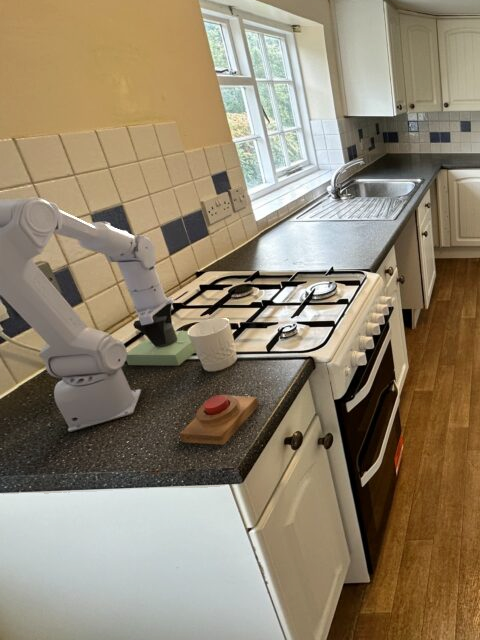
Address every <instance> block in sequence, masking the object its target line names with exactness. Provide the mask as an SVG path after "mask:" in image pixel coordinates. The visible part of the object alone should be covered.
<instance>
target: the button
mask: <svg viewBox="0 0 480 640" xmlns="http://www.w3.org/2000/svg"><path fill="white" fill-rule="evenodd" d="M225 395H226V394H219V395H215V396H212V397H210V398H208V399H207V400H206V401H205V402H204V403H205V404H204V403H203V404H204V408H205V410H206V413H207V414H208V415H215V414H218V413H220V412H222V411H224V410H226V409H227V408H228V407H229V403H228V400H227V397H226V396H225Z"/></svg>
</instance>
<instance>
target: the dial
mask: <svg viewBox="0 0 480 640" xmlns="http://www.w3.org/2000/svg"><path fill="white" fill-rule="evenodd" d="M175 331H176V330H175V328H174V326H173V323H172V324H170V323H165V332H166V338H167V343H166V344H164V345H159V346H155V347H165V346H168V345H171V344H173V343H175V342H176V341H177V336H176V333H175Z"/></svg>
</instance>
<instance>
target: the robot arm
mask: <svg viewBox="0 0 480 640" xmlns="http://www.w3.org/2000/svg"><path fill="white" fill-rule="evenodd" d="M53 234H56V235H59V236H63V237H66V238H69V239H74V240H77V242H78V244H79V246H80V247H82V248H83V249H85V250H87V251H88V250H89V251H91V252H95V253H97V254H100V255H104V256H105V258H106V259H107V261H109V262H110V263H117V266H118V269H119V271H120V274H121V276H122V278H123V281H124V284H125V286H126V288H127V291H128V294H129V296H130V298H131V301H132V303H133V309H134V312H135V313H136V315H138V320H135V321H134V322H133V328H134V329H135V330H137V331H139V332H141V333H142V334H143V335H145V336H146V338H148V339H149V340H150V341H151V342H152V343H153V344H154V345H155V346H159V345H164V344H166V343H167V338H166V332H165V323H170V324H172V325H173V320H172V319H173V318H172V306H173V303H174V298H173V297H167V296H166V294H165V291H164V289H163V285H162V282H161V281H160V280H161V279H160V277H159V274H158V271H157V269H156V266H155V265H156V263H157V262H156V261H157V260H156V257H155V252H156V246H155V243H154V242H153V241H152V240H151V239H150V238H149V237H147V236H145V235H141V234H139V235H137V234H136V235H134V234H132V233H131V234H130V233H129V232H128V230H125V229H118V228H116V227H114V226H112V225H111V223H110V222H108V221H95V222H90V223H88V222H86V221H85V220H82V219H80V218H78V217H76V216H74V215H72V214H69V213H67V212H65V211H63V210H60V208H59V206H58V205H57V203H55V202H51V201H47V200H45V199H44V198H41V197H36V196H35V197H33V196H32V197H25V198H6V199H5V198H3V199H2V198H1V199H0V296H1V297H2V298H3V299H4V301H6V302H7V304H9V305H10V306H11V308H12V309H13V310H14V311H15V312H16V313H18V315H19V316H20V317H21V318H22V319H23V320H24V321H25V322H26V323H27V324H28V325H29V326H30V327H31V328H32V329H33V330H34V331H35V332H36V334H37V335H39V337H41V339H42V340H43V341H44V342H45V343H44V345H42V347H41V349H40V351H39V353H38V356H39V357H40V359H42V361H43V363H44V365H45V369H46V372H47V373H48V375H50V376H51V377H53V378H57V379H60V378H61V380H59V381H58V382H57V383H56V384H55V387H54V390H53V396H54V402H55V404H56V407H57V408H58V410H59V412H60V413H61V416H62V417H63V419H64V421H65V423H66V424H67V426H68V428H67V431H68V433H70V432H71V433H72V432H75V431H77V430H82V429H85V428H88V427H91V426H95V425H98V424H103V423H105V422H110V421H112V420H117V419H120V418H124V417H126V416H130V415H132V414H133V413H134V412H135V409H136V407H137V405H138V401H139V398H140V396H141V393H142V389H139V388H138V389H134V390H132V389H131V387H130V385H129V382H128V380H127V377H126V376H125V373H124V371H123V369H122V367H123V366H124V365H125V363H126V362H127V361H126V357H127V352H128V351H127V347H126V346H125V344H124V343H123V342H122V341H121V340H119V339H116V338H114V337H113V336H112V335H111V334H110V333H109V332H106V331H103V330H101V329H96V328H94V327H90V326H88V325H87V323H86V322H85V321H84V320H83V318H81V316H80V315H79V314H78V313H77V311H76V310H75V309H74V308H73V307H72V306H71V304H70V303H68V301H67V300H66V299H65V298H64V296H63V295H62V294H61V292H60V291H58V289H57V288H56V287H55V286H54V284H53V283H52V282H51V281H50V280H49V279H48V277H47V276H46V275H45V274H44V273H43V271H42V270H41V269H40V267H38V265H37V264H36V263H35V262H34V258H35V257H37V256H39V255H41V254H42V253H43V251H44V249H45V248H46V246H47V245H48V242H49V241H50V239H51V237H52V236H53Z"/></svg>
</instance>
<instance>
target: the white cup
mask: <svg viewBox="0 0 480 640" xmlns="http://www.w3.org/2000/svg"><path fill="white" fill-rule="evenodd" d="M186 331H187V333H188V336H189V338H190V340H191V343H192V345H193V347H194V350H195V354H196V356H197V358H198V360H199V361H200V363H201V366H202V368H203V370H205V371H206V372H217V371H221V370H225V369H226V368H229V367H231V366H233V364H235V363H236V362H237V360H238V355H237V351H236V343H235V338H234V334H233V330H232V327H231V322H230V320H229V319H228V318H226V317H212V318H208V319H204V320H202V321H199V322H196V323H194V325H191V326H190V327H189V328H188V329H187V330H186Z"/></svg>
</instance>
